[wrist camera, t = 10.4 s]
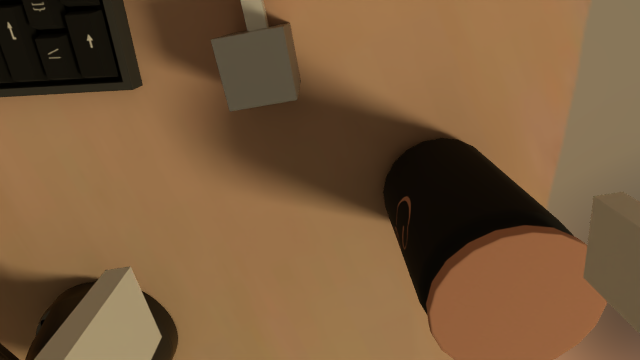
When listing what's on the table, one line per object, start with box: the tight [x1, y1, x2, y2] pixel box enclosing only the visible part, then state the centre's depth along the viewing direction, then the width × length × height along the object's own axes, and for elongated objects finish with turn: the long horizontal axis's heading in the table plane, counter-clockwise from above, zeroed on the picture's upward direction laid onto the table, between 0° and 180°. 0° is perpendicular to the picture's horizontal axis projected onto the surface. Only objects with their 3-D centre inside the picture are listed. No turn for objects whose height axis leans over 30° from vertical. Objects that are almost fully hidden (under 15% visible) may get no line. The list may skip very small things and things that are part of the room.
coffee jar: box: [383, 138, 607, 360], centre depth 31 cm, size 11×11×18 cm
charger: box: [211, 0, 301, 111], centre depth 30 cm, size 5×9×8 cm, turn 9°
